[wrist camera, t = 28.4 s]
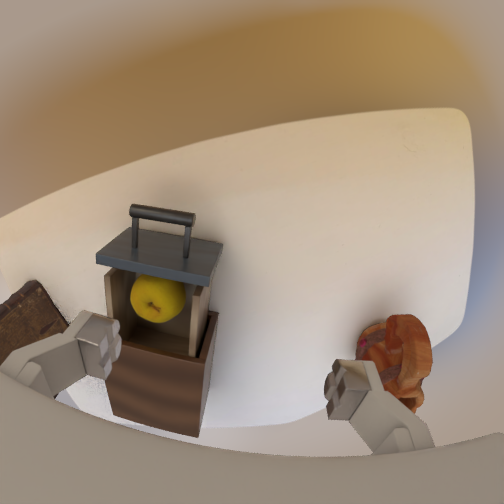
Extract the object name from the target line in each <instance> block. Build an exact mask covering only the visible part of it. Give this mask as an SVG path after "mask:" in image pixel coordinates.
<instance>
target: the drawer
mask: <svg viewBox="0 0 504 504" xmlns="http://www.w3.org/2000/svg"><path fill="white" fill-rule="evenodd" d="M129 214H130V216H131V217H132V228H131V227H129V228H127V229H126V230H125V231H123V232H122V233H121V234H120V235H118V236H117V237H116V238H115V239H113V240H112V241H111V242H110V243H108V244H107V245H106V246H105V247H103V248H102V249H101V250H100V251H98V252H97V253H96V264H100V265H105V266H109V267H113V268H112V269H110V270H109V271H108V272H107V273H106V274H105V275H104V282H105V295H106V305H107V315H108V317H109V318H113V319H116V320H118V321H119V324H120V330H119V331H118V334H119V335H120V337H121V340H125V341H128V342H132V343H136V344H140V345H143V346H147V347H151V348H155V349H159V350H163V351H168V352H172V353H176V354H181V355H185V356H190V357H195V358H199V356H200V353H201V349H202V346H203V342H204V339H205V335H206V325H207V316H208V307H209V299H210V290H211V282H212V277H213V275H214V272H215V269H216V267H217V264H218V262H219V259H220V256H221V254H222V249H223V244H222V243H216V242H210V241H205V240H199V239H193V238H191V230H192V227H193V226H194V223H195V218H196V215H195V213H189V212H183V211H177V210H171V209H164V208H158V207H152V206H145V205H138V204H132V205H131V207H130V210H129ZM139 218H142V219H148V220H154V221H160V222H166V223H172V224H178V225H184V226H185V234H184V237H182V236H176V235H171V234H165V233H159V232H154V231H148V230H142V229H139ZM141 274H145V275H150V276H155V277H160V278H165V279H169V280H174V281H179V282H183V284H184V287H185V291H186V302H185V305H184V307H183V309H182V311H181V312H180V313H179V314H178V315H176V316H175V317H173V318H172V319H170V320H168V321H166V322H162V323H156V322H151V321H149V320H146V319H144V318H142V317H141V316H139V315H138V314H137V313H136V311H135V310H134V308H133V306H132V304H131V300H130V295H131V289H132V287H133V284H134V283H135V281H136V280H137V278H138V277H139V276H140V275H141Z"/></svg>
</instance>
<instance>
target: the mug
mask: <svg viewBox="0 0 504 504" xmlns="http://www.w3.org/2000/svg"><path fill="white" fill-rule="evenodd" d="M355 360H358V361H373V362H374V363H375V366H376V369H377V371H378V374H379V377H380V379H381V382H382V385H383V388H384V391H388V392H390V393H391V394H392V395H393V396H394V397H395V398H397V399H398V400H399V401H400V402H401V403H402V404H404V405H405V406H406V407H407V408H408V409H409V410H411V411H412V412H413V413H414V414H415V412H416V409H417V408H418V407H420V406H421V405H422V404H423V401H424V394H423V391H422V389H421V385H422V380H423V379H424V378H425V377H427V376H428V375H429V374H430V371H431V366H432V363H433V362H432V350H431V344H430V339H429V336H428V333H427V331H426V328H425V326H424V325H423V324H422V323H421V321H420V320H419V319H418V318H416V317H415V316H413V315H411V314H406V315H392V316H390V317H388V318H387V320H386V323H385V322H384V323H378V324H375V325H373V326H370V327H369V328H367V329H366V330H365V331H363V333H362V334H361V336H360V337H359V339H358V342H357V350H356V359H355Z"/></svg>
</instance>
